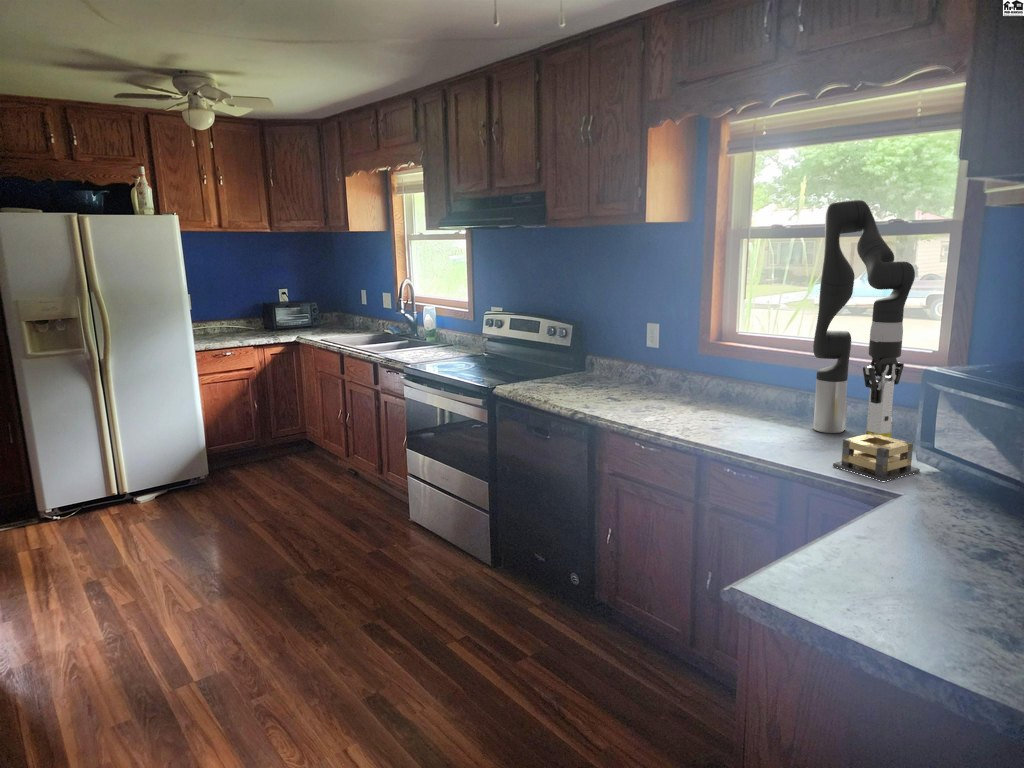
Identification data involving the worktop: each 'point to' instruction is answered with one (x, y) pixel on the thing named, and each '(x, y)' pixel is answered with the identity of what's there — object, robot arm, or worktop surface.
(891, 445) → the collar stand
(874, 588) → the worktop surface
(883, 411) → the tall white block
